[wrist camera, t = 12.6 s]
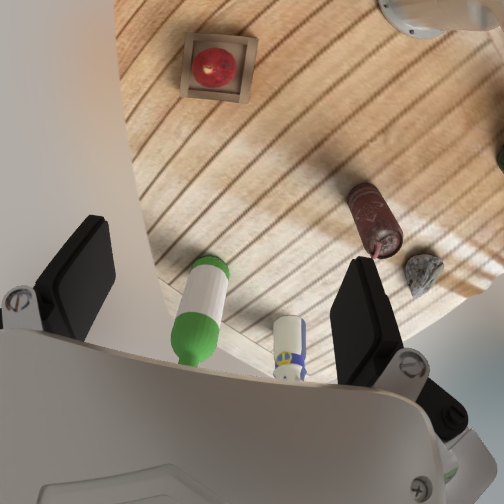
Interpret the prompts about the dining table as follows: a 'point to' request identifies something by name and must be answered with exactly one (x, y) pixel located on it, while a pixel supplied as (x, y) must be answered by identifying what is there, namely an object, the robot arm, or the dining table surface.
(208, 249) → the dining table surface
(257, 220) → the dining table surface
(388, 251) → the can
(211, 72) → the onion
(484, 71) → the dining table surface
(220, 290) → the wine bottle
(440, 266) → the fossilized seashell
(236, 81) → the wooden square tray
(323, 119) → the dining table surface
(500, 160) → the coffee jar
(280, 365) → the white spray bottle
